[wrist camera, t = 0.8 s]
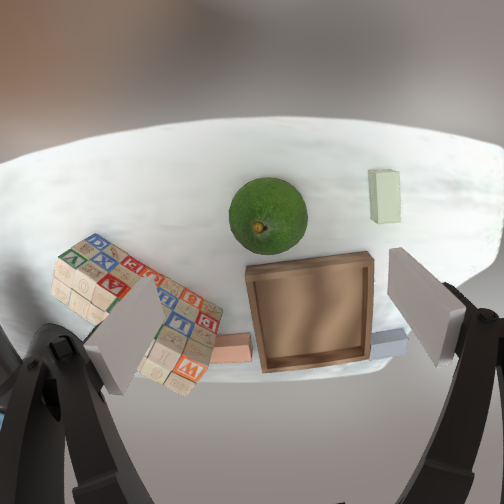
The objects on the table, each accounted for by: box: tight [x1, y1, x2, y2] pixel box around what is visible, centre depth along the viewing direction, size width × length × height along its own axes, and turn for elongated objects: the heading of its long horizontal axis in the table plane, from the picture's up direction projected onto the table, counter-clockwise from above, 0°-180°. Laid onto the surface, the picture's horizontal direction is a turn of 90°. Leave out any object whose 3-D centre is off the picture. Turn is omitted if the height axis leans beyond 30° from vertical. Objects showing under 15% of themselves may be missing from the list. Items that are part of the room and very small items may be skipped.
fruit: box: [229, 178, 308, 255], centre depth 29 cm, size 8×8×12 cm
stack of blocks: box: [51, 234, 223, 396], centre depth 34 cm, size 21×6×12 cm, turn 59°
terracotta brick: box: [210, 333, 253, 364], centre depth 41 cm, size 6×3×3 cm, turn 99°
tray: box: [245, 251, 374, 373], centre depth 38 cm, size 16×16×3 cm
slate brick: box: [369, 328, 409, 361], centre depth 39 cm, size 6×3×3 cm, turn 97°
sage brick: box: [368, 170, 401, 224], centre depth 32 cm, size 6×3×3 cm, turn 8°
